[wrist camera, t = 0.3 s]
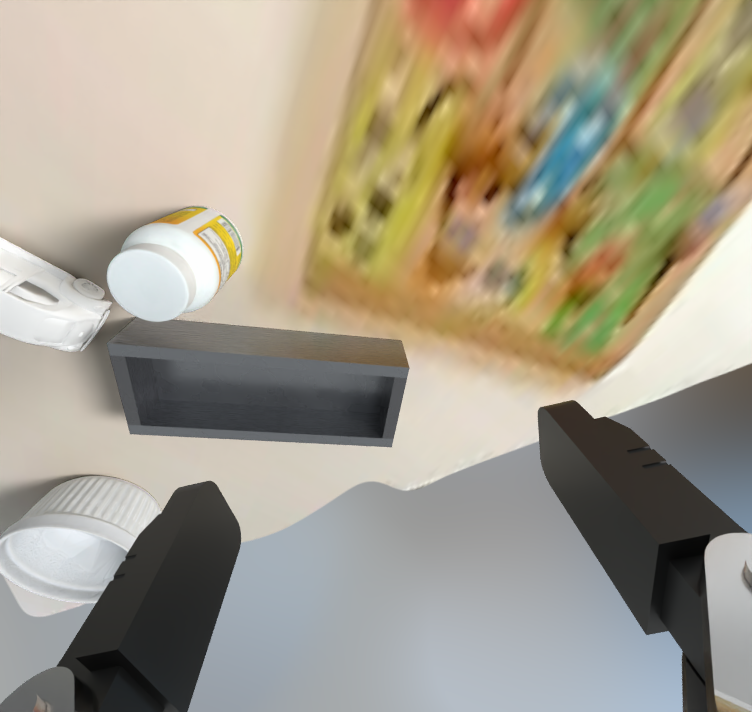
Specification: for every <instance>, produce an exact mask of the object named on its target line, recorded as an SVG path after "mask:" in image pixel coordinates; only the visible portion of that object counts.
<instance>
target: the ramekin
mask: <svg viewBox="0 0 752 712" xmlns="http://www.w3.org/2000/svg"><path fill="white" fill-rule="evenodd" d="M158 514H161V510H160V507H159V505H158V503H157V501H156V500H155V499H154V498H153V497H152V496H151V495H150V494H149V493H148V492H147V491H145V490H144V489H142V488H141V487H139V486H137V485H135V484H133V483H131V482H128V481H125V480H122V479H119V478H114V477H108V476H86V477H80V478H76V479H72V480H69V481H66V482H65V483H62V484H60V485H58V486H57V487H55V488H53V489H52V490H51V491H49V492H48V493H47V494H46V495H45V496H44V497H43V498H42V499H41V500H40V501H38V502H37V503H36V504H35V505H34V506H33V507H32V508H31V509H30V510H29V511H28V512H27V513H26V514H25V515H24V516H23V517H22V518H21V519H20V520H19V521H17V522H16V523H14V524H12V525H11V526H9V527H8V528H7V529H6V530H5V531H4V532H3V534H2V535H1V536H0V573H1V574H2V575H3V576H4V577H6V578H7V579H8V580H10V581H11V582H12V583H14V584H15V585H17V586H19V587H21V588H23V589H25V590H27V591H30V592H32V593H35V594H37V595H40V596H43V597H47V598H51V599H55V600H60V601H67V602H75V603H97V601H98V600H99V598H100V596H101V595H102V593H103V592H104V590H105V588H106V587H107V585H108V584H109V582H110V581H113V579H114V574H115V572H116V571H117V569H118V568H119V566H120V564H121V563H122V561H125V559H126V558H125V556H126V555H127V553H128V551H129V550H130V548H131V547H132V545H133V543H134V542H135V540H136V539H137V537H138V535H139V534H140V533H141V532H142V531H143V530H144V529H145V528H146V527H147V526H148V525H149V524H150V523H151V522H152V521H153V520H154V519H155V517H156V516H157V515H158Z"/></svg>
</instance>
